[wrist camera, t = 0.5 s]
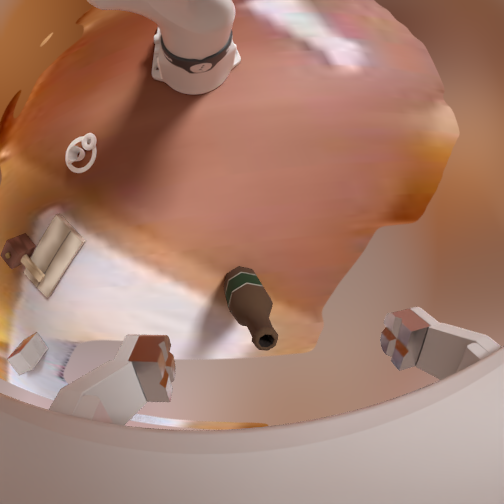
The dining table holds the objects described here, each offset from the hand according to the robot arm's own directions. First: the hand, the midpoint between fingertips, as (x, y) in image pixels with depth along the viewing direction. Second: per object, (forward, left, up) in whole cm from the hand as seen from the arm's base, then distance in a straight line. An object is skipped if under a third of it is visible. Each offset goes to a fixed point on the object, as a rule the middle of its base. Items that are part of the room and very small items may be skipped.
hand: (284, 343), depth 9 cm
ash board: (0, -39, -47) cm, 61 cm away
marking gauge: (-1, -45, -47) cm, 65 cm away
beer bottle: (+16, +2, -47) cm, 50 cm away
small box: (+21, -58, -47) cm, 78 cm away
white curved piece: (-18, -23, -48) cm, 56 cm away
